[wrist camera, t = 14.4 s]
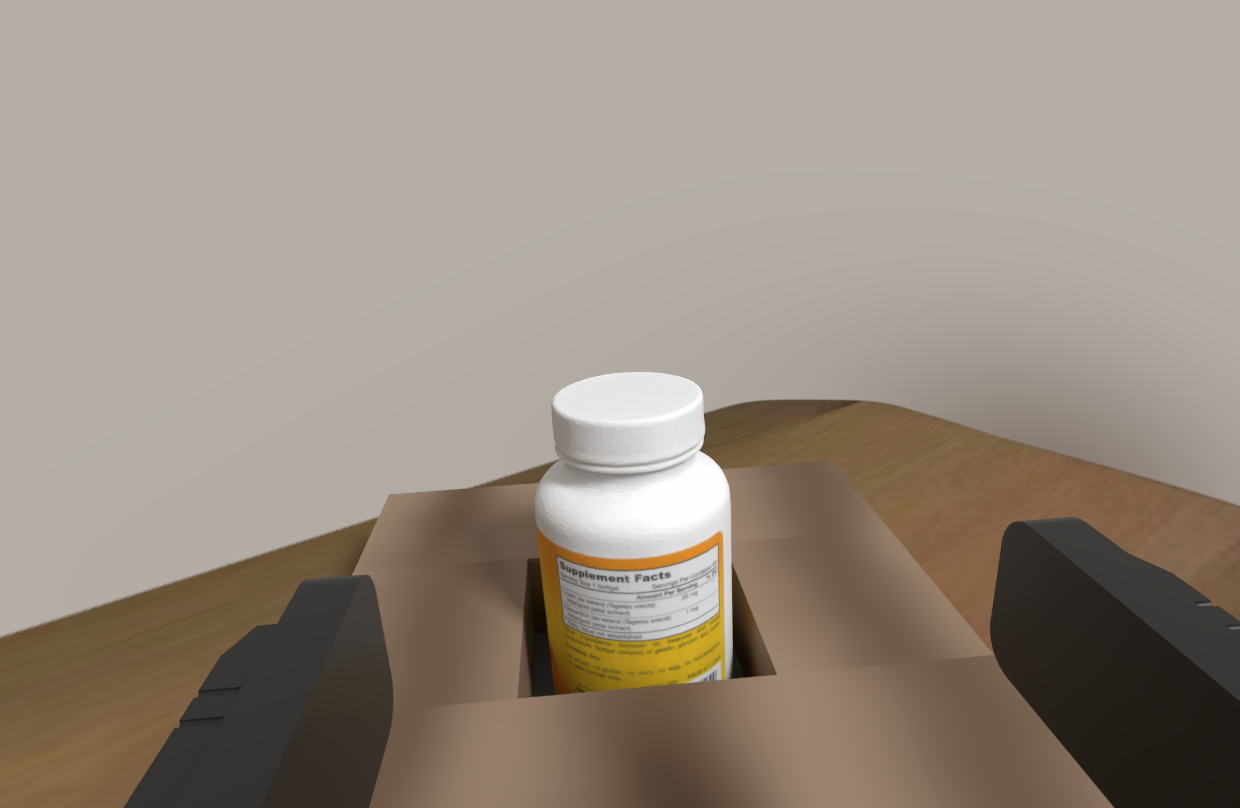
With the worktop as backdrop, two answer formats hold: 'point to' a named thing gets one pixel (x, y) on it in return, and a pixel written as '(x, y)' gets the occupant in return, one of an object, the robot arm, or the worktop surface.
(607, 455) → the supplement bottle
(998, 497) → the worktop surface
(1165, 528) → the worktop surface
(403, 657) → the socket block
